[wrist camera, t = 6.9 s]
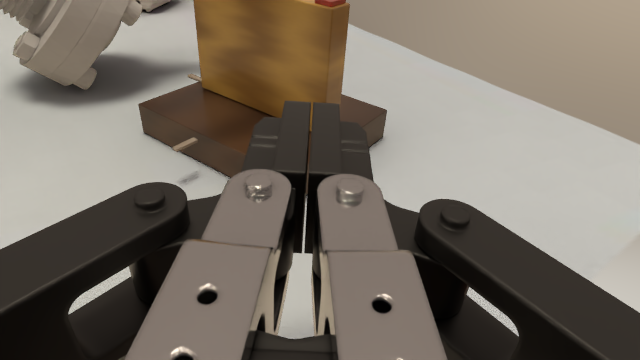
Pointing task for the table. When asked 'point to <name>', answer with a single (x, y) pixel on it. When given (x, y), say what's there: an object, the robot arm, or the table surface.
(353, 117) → the panel
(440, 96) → the table surface
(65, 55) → the valve
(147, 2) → the radio
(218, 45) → the tan wooden flat block
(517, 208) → the table surface
